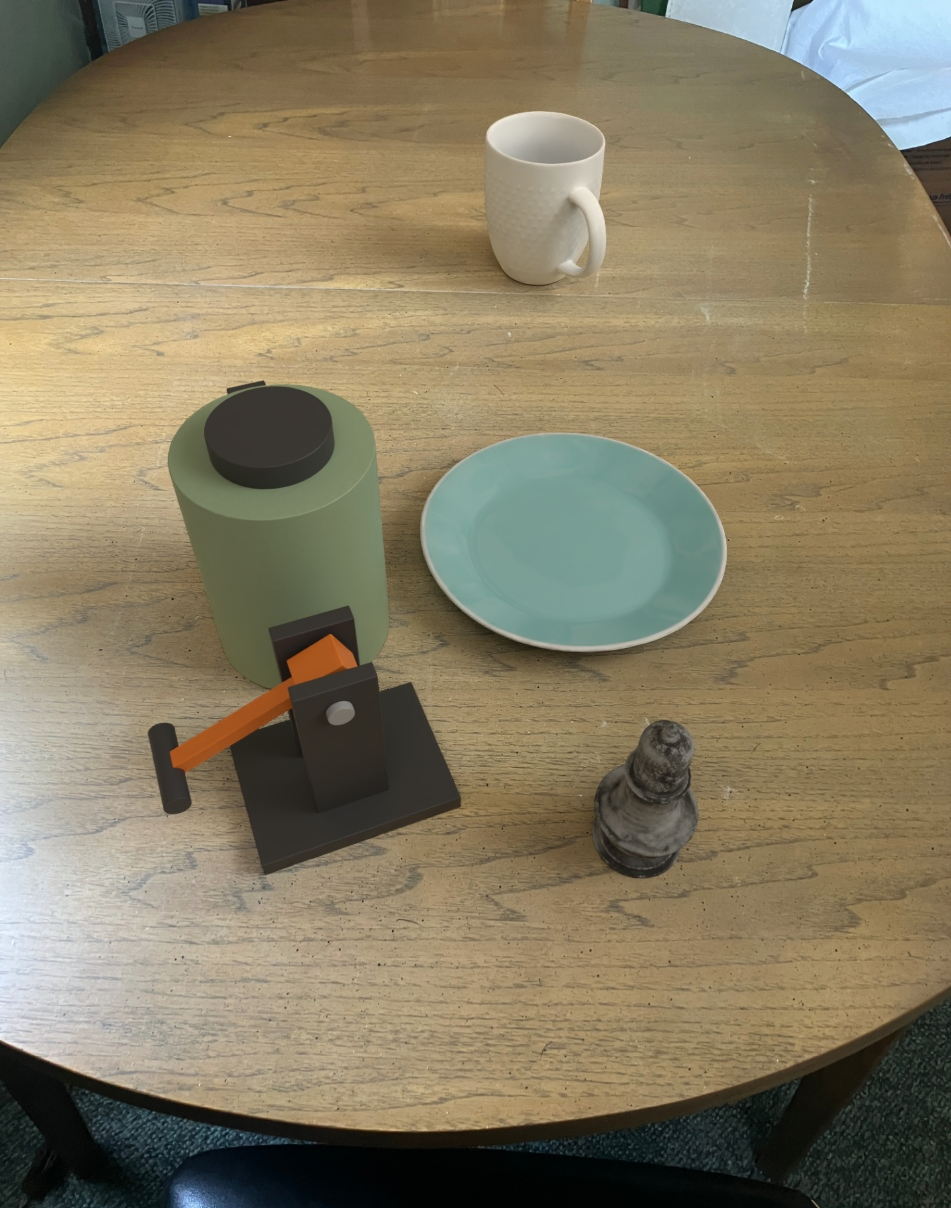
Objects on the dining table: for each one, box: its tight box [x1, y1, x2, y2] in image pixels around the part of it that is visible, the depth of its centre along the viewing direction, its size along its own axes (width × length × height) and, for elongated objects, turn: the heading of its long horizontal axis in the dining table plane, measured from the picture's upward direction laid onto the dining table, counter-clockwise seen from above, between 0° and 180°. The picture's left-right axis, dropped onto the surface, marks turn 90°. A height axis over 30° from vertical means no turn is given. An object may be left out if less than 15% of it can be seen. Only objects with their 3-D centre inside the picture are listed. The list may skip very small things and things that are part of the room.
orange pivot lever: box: [147, 634, 357, 815], centre depth 50 cm, size 12×5×2 cm, turn 112°
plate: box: [419, 431, 728, 653], centre depth 69 cm, size 22×22×3 cm
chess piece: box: [591, 719, 700, 879], centre depth 51 cm, size 6×6×12 cm
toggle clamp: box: [228, 606, 462, 876], centre depth 53 cm, size 12×9×13 cm
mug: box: [483, 110, 607, 286], centre depth 90 cm, size 15×11×13 cm
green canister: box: [167, 380, 390, 690], centre depth 60 cm, size 12×13×18 cm
